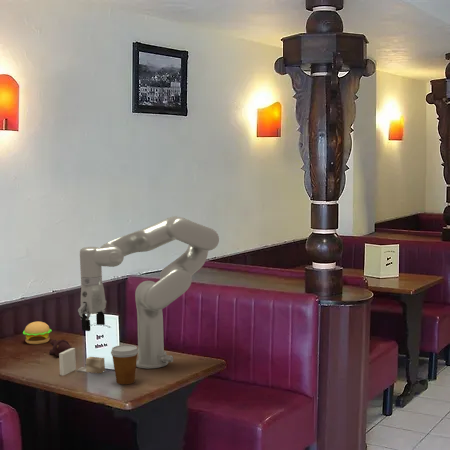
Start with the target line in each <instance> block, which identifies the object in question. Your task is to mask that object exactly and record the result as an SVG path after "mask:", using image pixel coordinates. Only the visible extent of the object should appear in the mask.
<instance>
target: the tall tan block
mask: <svg viewBox="0 0 450 450" xmlns="http://www.w3.org/2000/svg"><path fill="white" fill-rule="evenodd" d="M105 363H106V362H105V357H97V356H88V357H87V358H85V366H84V367H83V366H81V367H79V368H78V369H77V368H76V370H75V372H76V373H86V374H87V373H89V372H91V374H99V373H101V374H103V373H104V372H103V371H105V372H106V368H105ZM102 372H103V373H102Z"/></svg>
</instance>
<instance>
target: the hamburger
mask: <svg viewBox="0 0 450 450" xmlns="http://www.w3.org/2000/svg"><path fill="white" fill-rule="evenodd" d="M50 333H52V329H51V328H50V326H49V325H48V324H47V323H46V322H43V321H41V320H40V321H33V322H30V323H28V324H27V325H26V326H25V328H24V330H23V332H22V334H23V335H25V343H27V344H28V345H42V344H45V343H48V342H49V341H50V339H51V338H50Z"/></svg>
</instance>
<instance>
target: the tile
mask: <svg viewBox="0 0 450 450" xmlns="http://www.w3.org/2000/svg"><path fill="white" fill-rule="evenodd" d="M58 357H59V358H58V360H59V361H58V362H59V363H58V364H59V376H63V377H64V376H66V375H68V374H70V373H72V372H74V371H76V370H77V366H76V365H77V362H76V360H77V359H76V348H75V347H72V348H70V349H68V350H66V351H64V352H61V353H59V356H58Z"/></svg>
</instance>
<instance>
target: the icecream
mask: <svg viewBox="0 0 450 450" xmlns="http://www.w3.org/2000/svg"><path fill="white" fill-rule="evenodd" d="M50 345H51V346H52V349H50V350H49V354H50V355H55V356H57V357H59V353H61V352H64V351H66V350H68V349H70V348H73V347H72V346H71V344H70V343H69V341H68V340H66V339H60V340H56V339H51V340H50Z"/></svg>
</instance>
